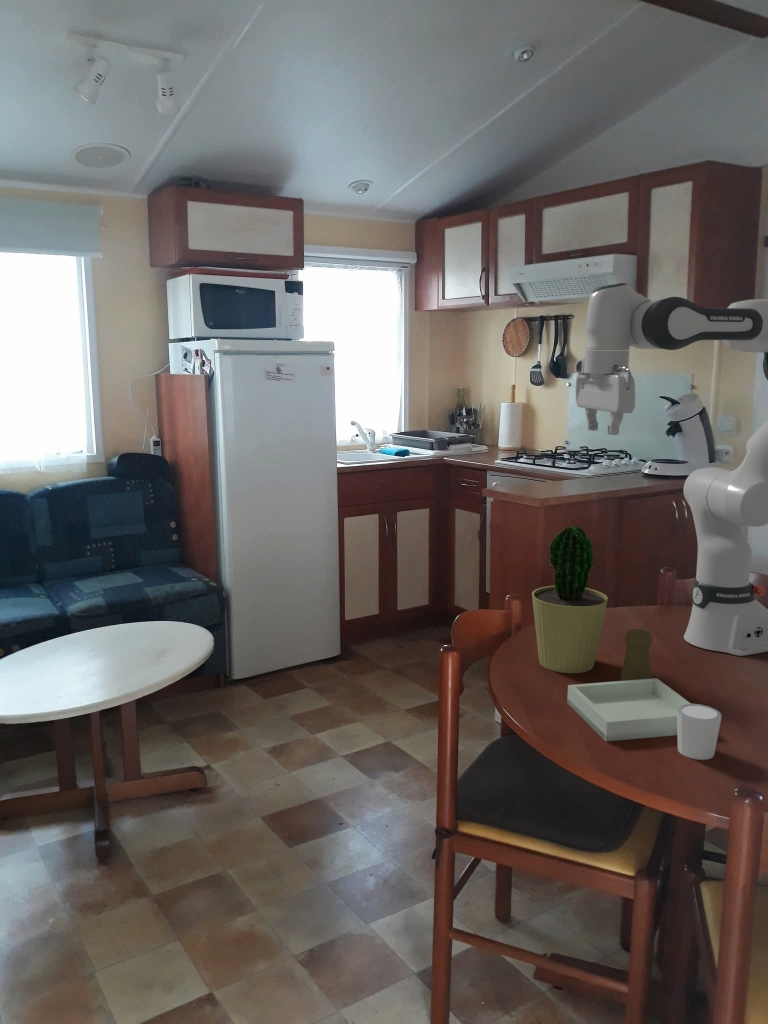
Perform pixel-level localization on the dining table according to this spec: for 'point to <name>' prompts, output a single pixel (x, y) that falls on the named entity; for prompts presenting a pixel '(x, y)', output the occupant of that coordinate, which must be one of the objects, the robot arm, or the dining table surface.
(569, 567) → the potted cactus
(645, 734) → the tray
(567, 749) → the dining table surface
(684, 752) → the white cup
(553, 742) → the dining table surface
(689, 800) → the dining table surface
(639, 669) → the olive brown pawn
